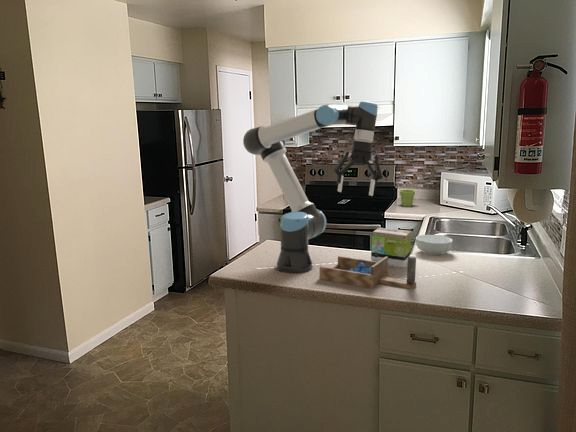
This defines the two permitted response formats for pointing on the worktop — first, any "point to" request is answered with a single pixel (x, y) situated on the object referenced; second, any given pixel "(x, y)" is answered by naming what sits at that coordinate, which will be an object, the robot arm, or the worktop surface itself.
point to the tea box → (391, 246)
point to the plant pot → (407, 197)
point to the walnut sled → (367, 280)
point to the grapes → (362, 269)
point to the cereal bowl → (433, 244)
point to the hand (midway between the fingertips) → (355, 193)
